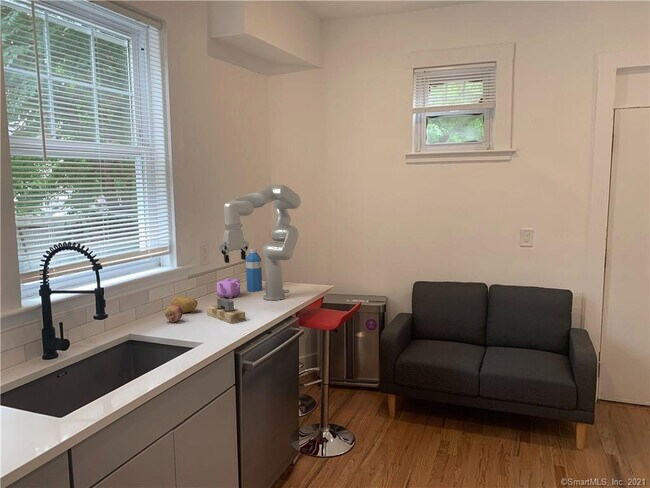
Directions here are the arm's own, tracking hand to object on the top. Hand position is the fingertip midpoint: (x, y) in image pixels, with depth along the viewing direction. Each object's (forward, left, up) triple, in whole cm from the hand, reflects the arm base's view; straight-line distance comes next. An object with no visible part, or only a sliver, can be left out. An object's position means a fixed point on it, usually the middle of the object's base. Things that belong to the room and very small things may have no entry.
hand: (235, 261), depth 248 cm
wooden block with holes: (+11, +7, -25) cm, 29 cm away
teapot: (-14, -31, -26) cm, 42 cm away
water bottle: (-35, -36, -26) cm, 56 cm away
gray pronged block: (+11, +7, -25) cm, 28 cm away
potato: (+20, -17, -26) cm, 37 cm away
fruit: (+32, -4, -26) cm, 41 cm away
